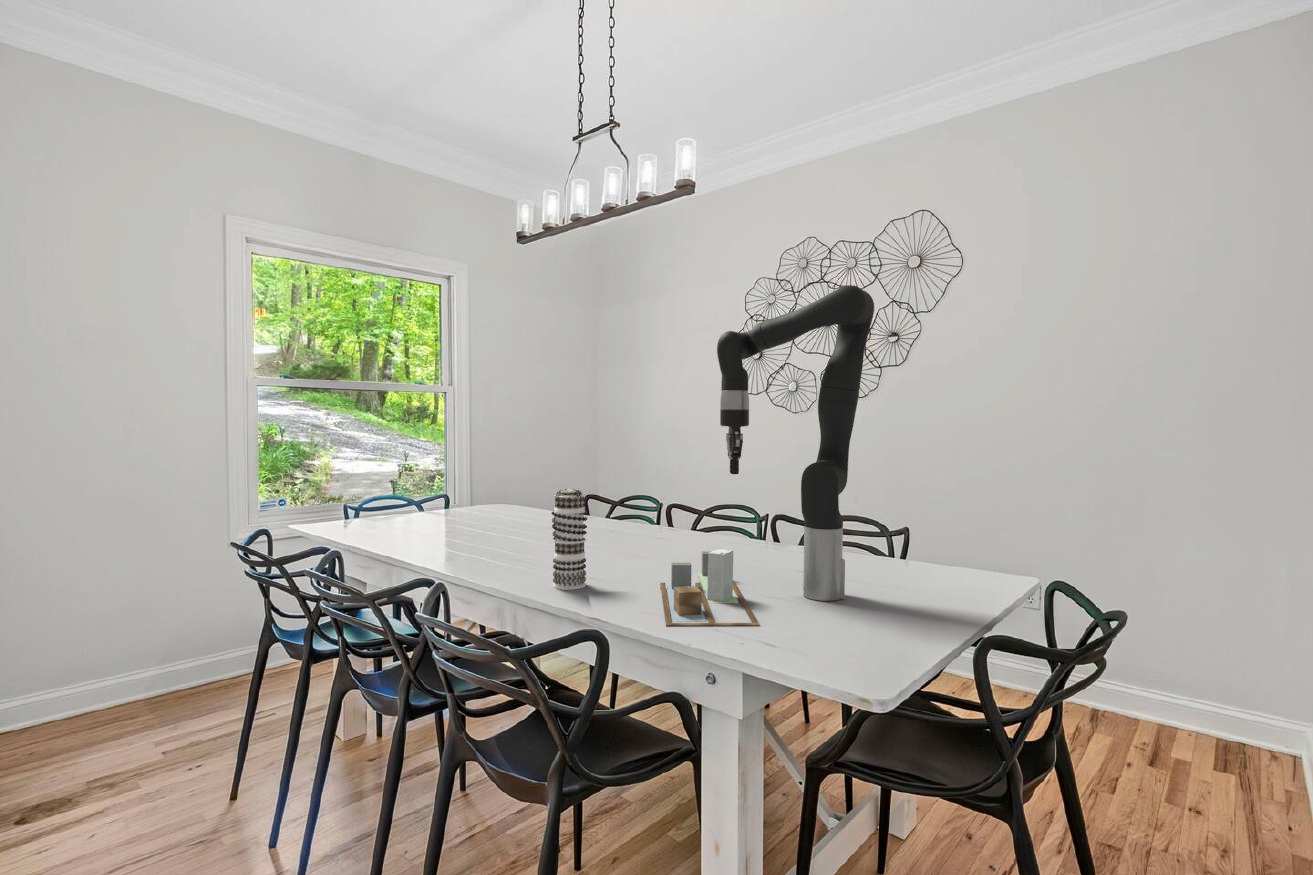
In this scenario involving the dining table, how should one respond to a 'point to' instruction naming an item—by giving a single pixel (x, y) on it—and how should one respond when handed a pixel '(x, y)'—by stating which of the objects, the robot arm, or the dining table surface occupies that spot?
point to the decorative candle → (569, 540)
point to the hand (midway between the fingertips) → (734, 473)
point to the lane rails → (707, 610)
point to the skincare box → (720, 575)
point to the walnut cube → (687, 600)
